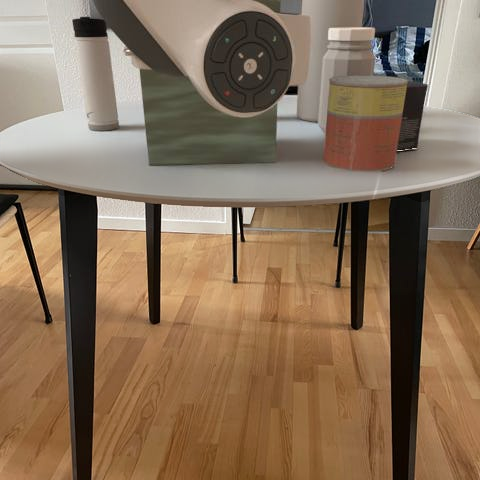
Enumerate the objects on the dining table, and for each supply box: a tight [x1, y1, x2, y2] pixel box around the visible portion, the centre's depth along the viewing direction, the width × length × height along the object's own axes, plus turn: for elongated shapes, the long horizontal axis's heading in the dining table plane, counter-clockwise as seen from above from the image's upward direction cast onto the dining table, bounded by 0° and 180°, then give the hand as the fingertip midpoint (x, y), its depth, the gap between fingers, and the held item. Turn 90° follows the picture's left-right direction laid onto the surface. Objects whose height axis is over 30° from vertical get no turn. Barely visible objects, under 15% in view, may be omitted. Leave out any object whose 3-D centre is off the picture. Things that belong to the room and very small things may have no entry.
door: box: [138, 0, 282, 166], centre depth 71 cm, size 6×20×22 cm, turn 94°
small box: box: [397, 80, 429, 150], centre depth 87 cm, size 11×6×10 cm, turn 21°
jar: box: [317, 26, 377, 134], centre depth 96 cm, size 10×10×18 cm
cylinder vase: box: [296, 0, 366, 123], centre depth 107 cm, size 12×12×25 cm
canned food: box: [322, 75, 409, 173], centre depth 76 cm, size 11×11×12 cm
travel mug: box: [71, 16, 120, 132], centre depth 99 cm, size 6×7×20 cm
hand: (214, 44), depth 62 cm, fingers closed
